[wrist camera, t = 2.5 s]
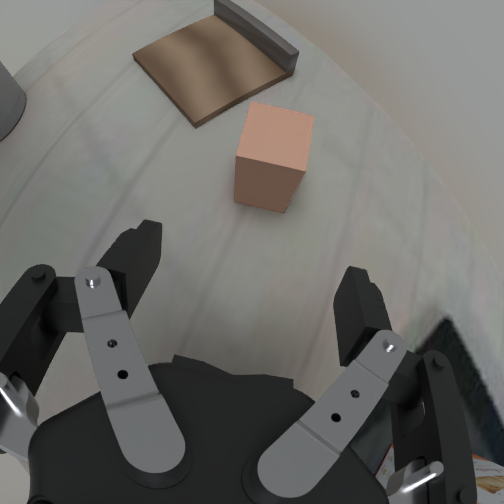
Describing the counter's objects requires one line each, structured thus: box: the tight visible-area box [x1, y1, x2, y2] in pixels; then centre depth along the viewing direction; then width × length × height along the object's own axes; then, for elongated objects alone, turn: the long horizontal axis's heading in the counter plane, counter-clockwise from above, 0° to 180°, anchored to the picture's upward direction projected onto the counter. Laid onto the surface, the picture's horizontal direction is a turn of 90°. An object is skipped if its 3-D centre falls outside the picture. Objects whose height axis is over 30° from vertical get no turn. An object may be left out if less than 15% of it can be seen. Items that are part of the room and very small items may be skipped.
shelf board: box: [132, 0, 299, 128], centre depth 30 cm, size 13×14×4 cm
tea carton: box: [234, 102, 315, 213], centre depth 25 cm, size 5×5×9 cm
